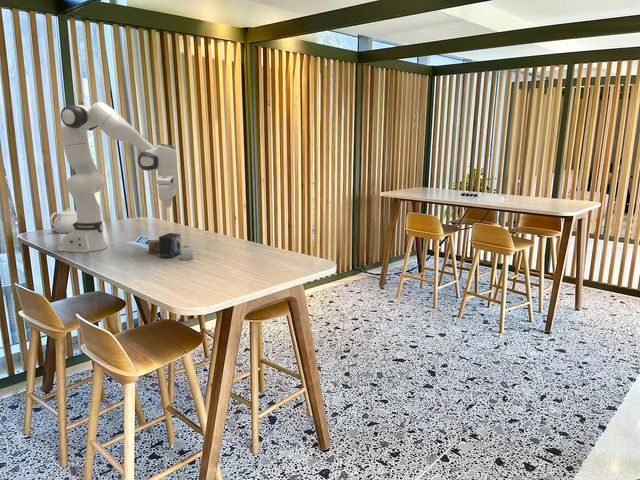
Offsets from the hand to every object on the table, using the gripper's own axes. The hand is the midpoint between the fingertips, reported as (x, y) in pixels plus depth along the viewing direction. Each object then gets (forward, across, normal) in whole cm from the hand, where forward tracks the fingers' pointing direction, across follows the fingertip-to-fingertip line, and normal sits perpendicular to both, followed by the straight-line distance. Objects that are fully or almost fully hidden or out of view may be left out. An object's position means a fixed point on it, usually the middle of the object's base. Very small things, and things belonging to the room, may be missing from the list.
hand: (168, 207), depth 224 cm
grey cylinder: (+24, +6, +9) cm, 27 cm away
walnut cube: (+25, -6, -9) cm, 27 cm away
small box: (+25, 0, 0) cm, 25 cm away
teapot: (+25, -56, -72) cm, 95 cm away
